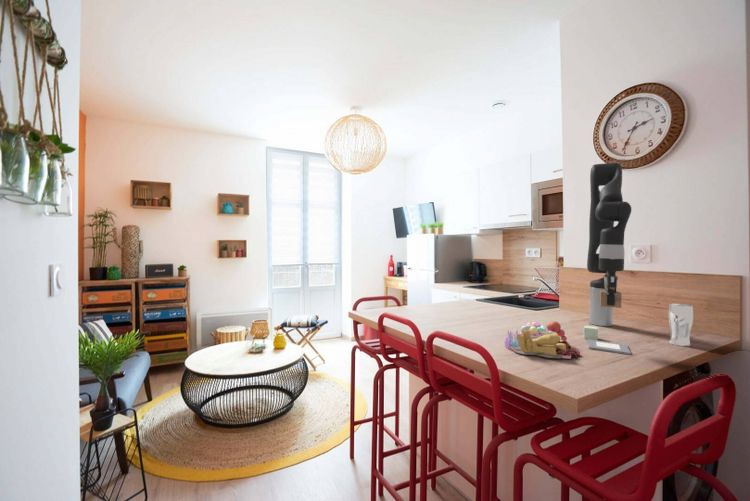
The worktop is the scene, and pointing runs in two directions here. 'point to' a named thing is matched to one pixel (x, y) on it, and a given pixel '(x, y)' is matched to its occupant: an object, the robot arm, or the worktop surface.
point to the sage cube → (590, 332)
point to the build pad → (608, 346)
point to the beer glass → (680, 323)
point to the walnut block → (604, 299)
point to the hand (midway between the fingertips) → (609, 303)
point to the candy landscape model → (541, 341)
